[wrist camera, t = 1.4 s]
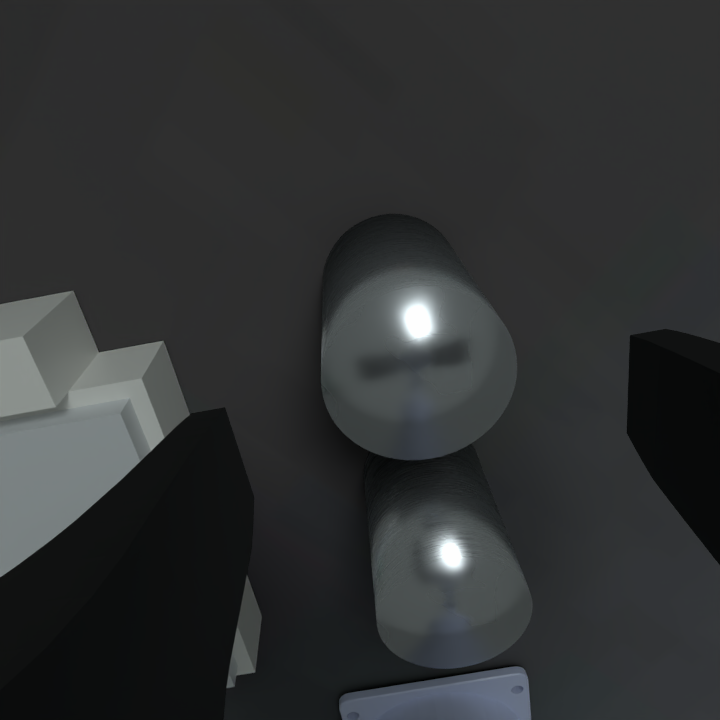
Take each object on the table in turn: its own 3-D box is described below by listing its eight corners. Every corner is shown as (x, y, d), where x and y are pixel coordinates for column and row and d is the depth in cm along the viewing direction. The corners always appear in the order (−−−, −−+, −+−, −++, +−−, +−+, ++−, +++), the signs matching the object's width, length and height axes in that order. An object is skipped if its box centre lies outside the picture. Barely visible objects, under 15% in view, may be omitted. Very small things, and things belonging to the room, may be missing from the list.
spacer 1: (465, 331, 18) (522, 442, 13) (337, 354, 19) (340, 473, 13) (451, 201, 17) (511, 268, 11) (309, 228, 17) (301, 306, 11)
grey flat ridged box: (261, 616, 23) (252, 693, 20) (-35, 665, 24) (-85, 748, 21) (137, 265, 17) (97, 306, 14) (-267, 340, 17) (-385, 396, 14)
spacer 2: (483, 507, 22) (535, 655, 16) (373, 526, 22) (389, 679, 16) (473, 413, 20) (528, 545, 14) (354, 434, 20) (364, 572, 14)
